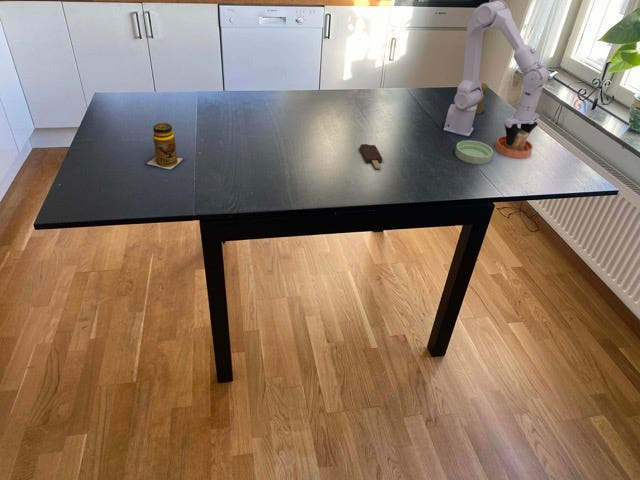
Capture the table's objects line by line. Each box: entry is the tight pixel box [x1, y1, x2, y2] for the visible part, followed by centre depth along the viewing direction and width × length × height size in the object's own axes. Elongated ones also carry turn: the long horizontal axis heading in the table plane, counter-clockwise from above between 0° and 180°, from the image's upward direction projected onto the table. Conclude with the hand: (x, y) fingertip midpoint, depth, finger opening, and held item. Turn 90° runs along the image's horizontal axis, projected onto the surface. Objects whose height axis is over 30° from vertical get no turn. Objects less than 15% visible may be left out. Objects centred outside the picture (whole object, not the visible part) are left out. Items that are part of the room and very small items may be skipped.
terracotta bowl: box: [494, 135, 534, 160], centre depth 174 cm, size 12×12×3 cm
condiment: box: [146, 122, 184, 170], centre depth 151 cm, size 7×8×12 cm
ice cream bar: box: [359, 143, 383, 170], centre depth 164 cm, size 5×2×15 cm
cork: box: [475, 82, 489, 115], centre depth 199 cm, size 6×6×11 cm
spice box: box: [504, 130, 530, 151], centre depth 173 cm, size 5×5×7 cm
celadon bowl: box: [454, 140, 494, 165], centre depth 169 cm, size 12×12×3 cm
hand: (515, 142), depth 173 cm, fingers open, 6 cm apart
